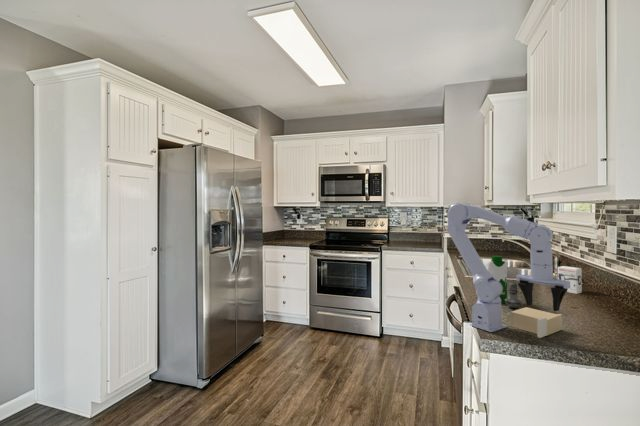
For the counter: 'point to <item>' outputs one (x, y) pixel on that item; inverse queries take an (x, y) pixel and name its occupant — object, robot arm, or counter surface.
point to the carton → (528, 318)
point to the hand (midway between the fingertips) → (542, 307)
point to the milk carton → (498, 273)
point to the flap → (549, 325)
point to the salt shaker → (512, 297)
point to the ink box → (571, 278)
